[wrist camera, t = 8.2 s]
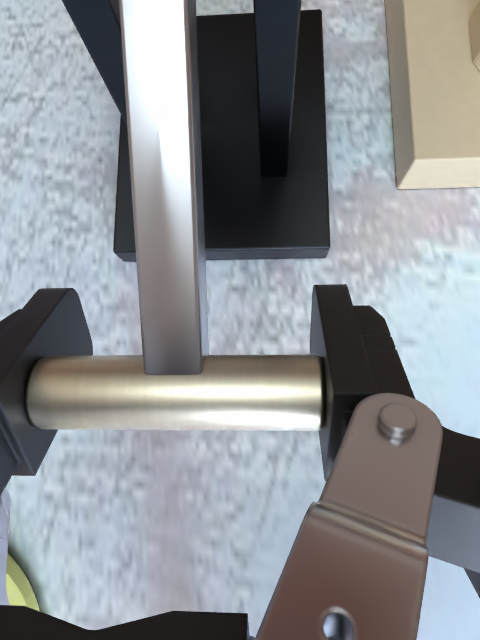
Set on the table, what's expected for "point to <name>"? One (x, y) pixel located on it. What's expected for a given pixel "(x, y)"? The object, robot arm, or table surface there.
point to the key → (19, 586)
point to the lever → (171, 275)
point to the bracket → (240, 128)
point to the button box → (435, 91)
